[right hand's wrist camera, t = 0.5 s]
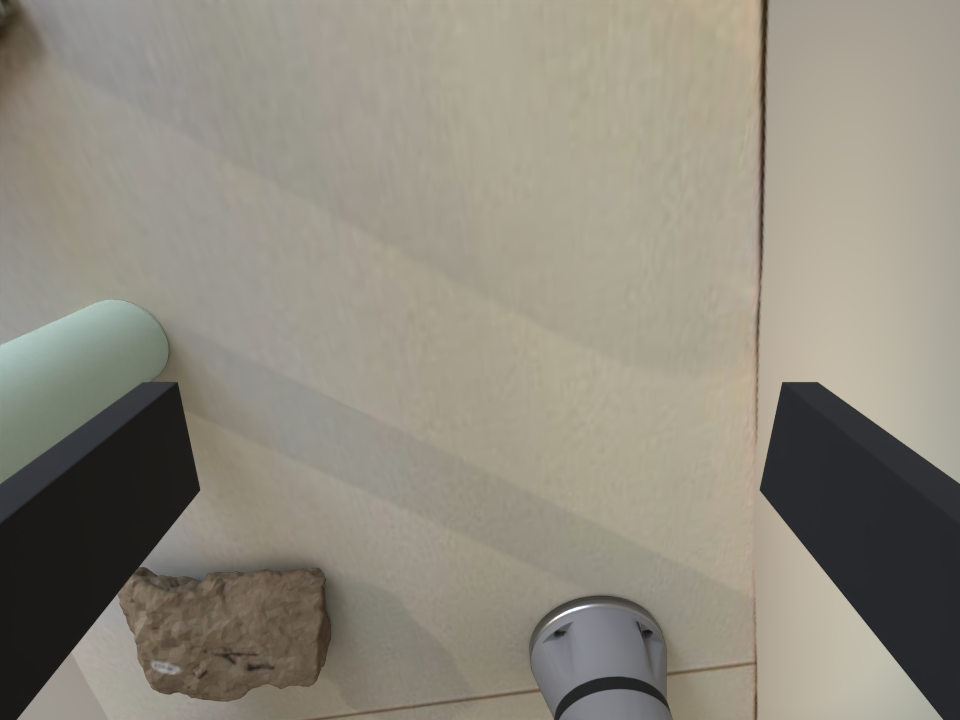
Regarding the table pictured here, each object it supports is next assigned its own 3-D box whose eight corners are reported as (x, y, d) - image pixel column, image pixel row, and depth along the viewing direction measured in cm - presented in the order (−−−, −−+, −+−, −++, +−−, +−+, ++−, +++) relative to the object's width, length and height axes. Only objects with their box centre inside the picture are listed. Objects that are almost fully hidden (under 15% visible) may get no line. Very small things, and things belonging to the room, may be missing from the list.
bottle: (81, 375, 53) (-224, 560, 30) (73, 291, 50) (-271, 427, 27) (169, 389, 53) (-63, 582, 30) (168, 308, 50) (-91, 453, 27)
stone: (137, 683, 63) (112, 725, 57) (127, 558, 61) (99, 589, 55) (333, 663, 66) (328, 701, 61) (330, 545, 64) (325, 572, 58)
